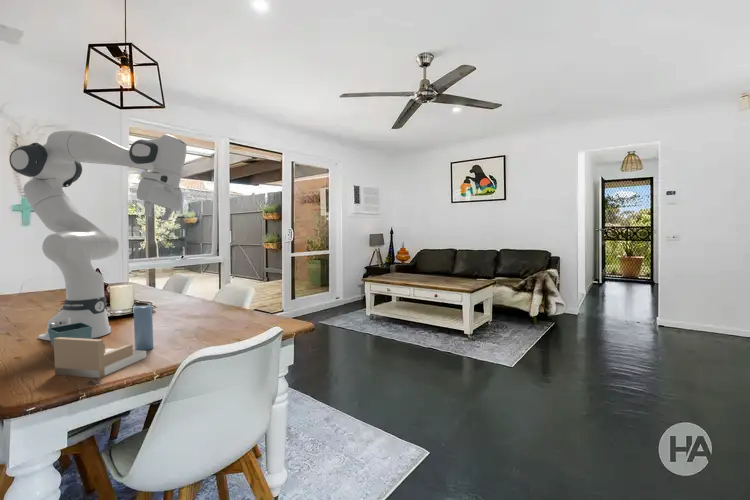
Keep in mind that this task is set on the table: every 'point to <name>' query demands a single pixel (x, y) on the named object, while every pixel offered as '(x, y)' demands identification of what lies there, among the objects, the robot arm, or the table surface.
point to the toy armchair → (91, 357)
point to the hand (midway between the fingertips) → (156, 218)
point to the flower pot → (70, 331)
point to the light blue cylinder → (143, 328)
